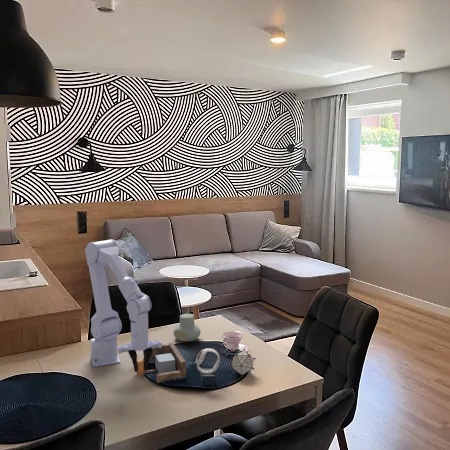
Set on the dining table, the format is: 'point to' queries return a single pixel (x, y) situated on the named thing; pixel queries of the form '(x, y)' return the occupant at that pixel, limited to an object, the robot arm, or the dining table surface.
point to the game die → (242, 362)
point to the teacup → (233, 341)
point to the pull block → (158, 364)
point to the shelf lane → (179, 362)
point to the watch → (207, 374)
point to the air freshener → (187, 329)
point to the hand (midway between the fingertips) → (140, 370)
